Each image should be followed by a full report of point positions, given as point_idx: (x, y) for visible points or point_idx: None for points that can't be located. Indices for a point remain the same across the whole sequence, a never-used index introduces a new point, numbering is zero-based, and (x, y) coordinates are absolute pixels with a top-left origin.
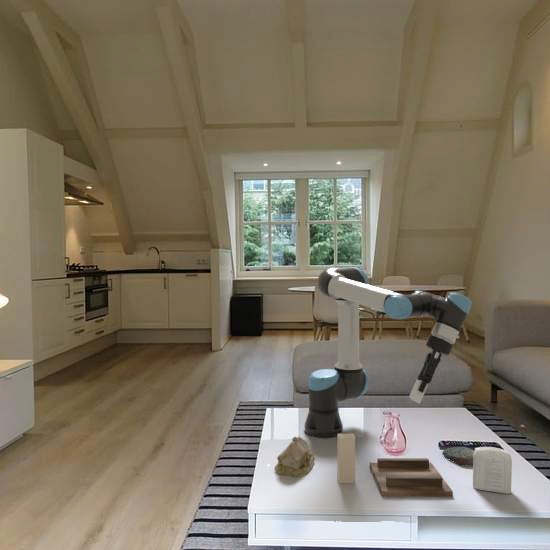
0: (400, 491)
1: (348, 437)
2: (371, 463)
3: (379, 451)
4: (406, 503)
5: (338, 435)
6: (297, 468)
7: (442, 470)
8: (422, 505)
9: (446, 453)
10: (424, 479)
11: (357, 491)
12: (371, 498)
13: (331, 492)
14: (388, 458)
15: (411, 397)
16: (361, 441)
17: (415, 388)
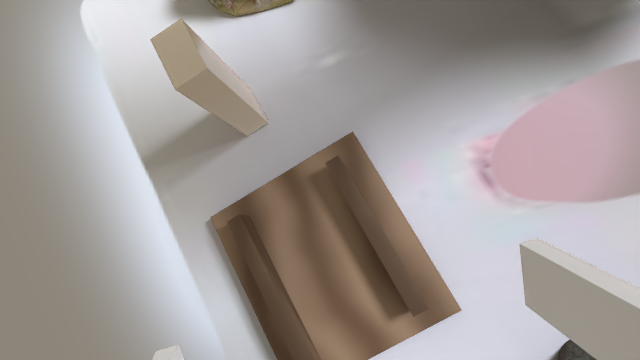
0: (230, 259)
1: (166, 68)
2: (348, 138)
3: (484, 122)
4: (212, 279)
5: (167, 30)
6: None
7: (453, 345)
8: (220, 318)
9: (583, 354)
10: (276, 321)
11: (213, 156)
12: (197, 197)
13: (183, 106)
14: (355, 186)
15: (527, 265)
16: (533, 40)
17: (610, 314)
